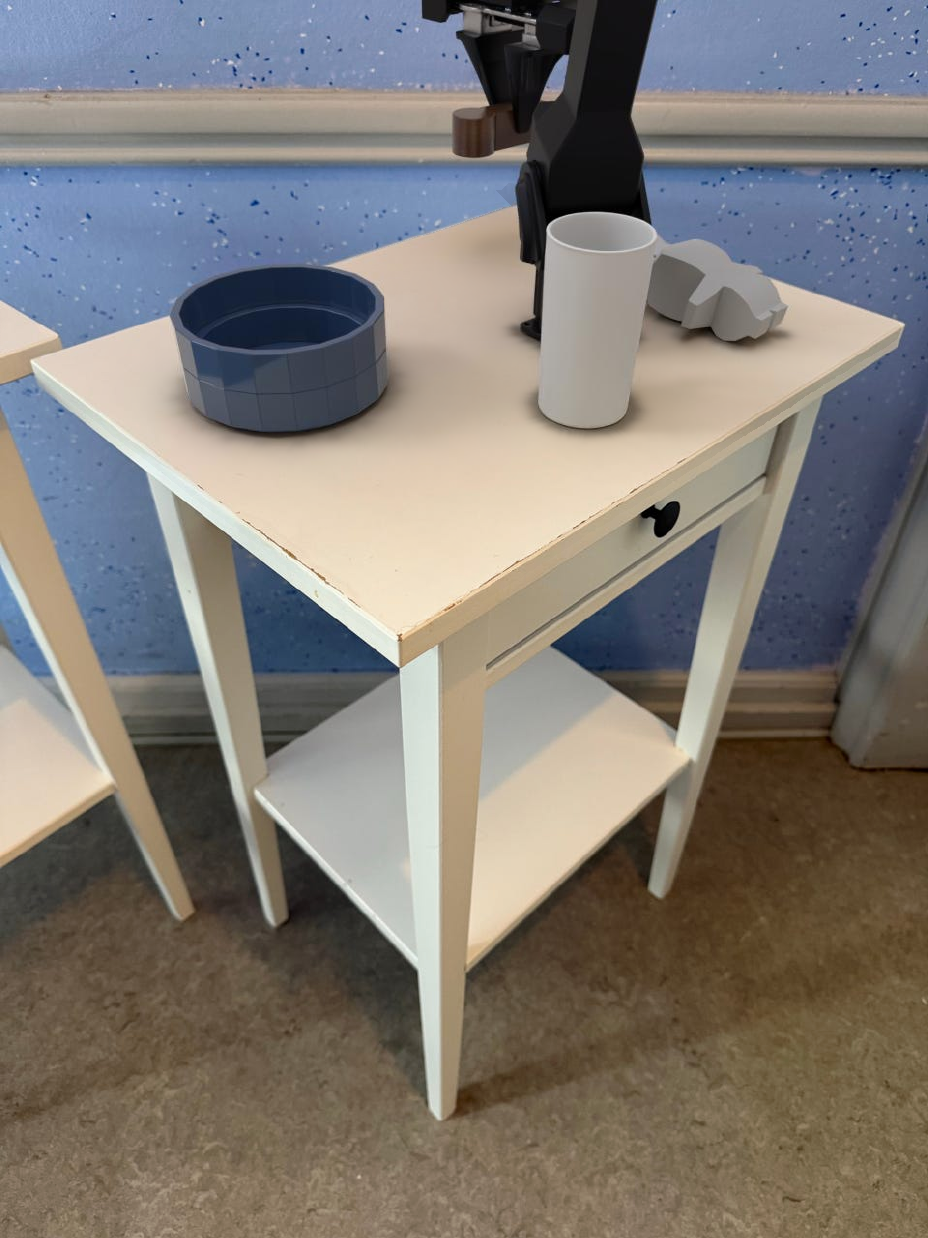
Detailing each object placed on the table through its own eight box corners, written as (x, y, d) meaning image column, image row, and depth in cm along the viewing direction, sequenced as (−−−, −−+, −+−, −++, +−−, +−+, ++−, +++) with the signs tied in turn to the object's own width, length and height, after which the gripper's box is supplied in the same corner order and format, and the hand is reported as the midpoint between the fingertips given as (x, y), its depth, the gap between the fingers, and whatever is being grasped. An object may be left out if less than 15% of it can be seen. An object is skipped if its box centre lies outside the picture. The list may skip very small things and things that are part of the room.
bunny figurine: (748, 311, 66) (590, 232, 72) (726, 373, 70) (578, 292, 76) (814, 275, 71) (661, 203, 77) (790, 334, 75) (646, 261, 81)
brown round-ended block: (551, 140, 80) (554, 102, 78) (470, 160, 76) (471, 121, 74) (524, 131, 82) (526, 94, 80) (443, 150, 78) (443, 111, 76)
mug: (597, 442, 60) (620, 261, 52) (515, 409, 63) (524, 233, 55) (671, 385, 66) (702, 213, 58) (592, 357, 69) (611, 191, 61)
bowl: (427, 393, 65) (426, 312, 61) (252, 461, 58) (237, 376, 54) (318, 324, 73) (311, 248, 69) (153, 377, 66) (134, 297, 62)
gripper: (687, -94, 67) (655, 137, 78) (519, -113, 78) (511, 93, 88) (580, -84, 62) (561, 162, 73) (415, -106, 72) (420, 112, 83)
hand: (513, 129), depth 79 cm, fingers closed on brown round-ended block, 2 cm apart
